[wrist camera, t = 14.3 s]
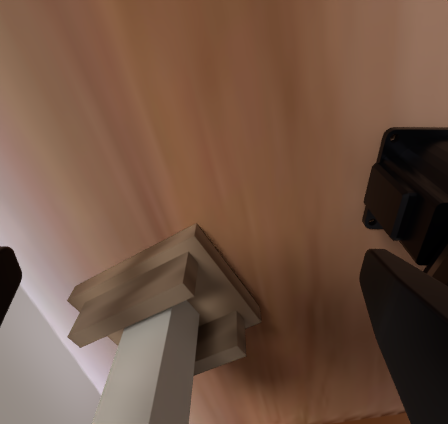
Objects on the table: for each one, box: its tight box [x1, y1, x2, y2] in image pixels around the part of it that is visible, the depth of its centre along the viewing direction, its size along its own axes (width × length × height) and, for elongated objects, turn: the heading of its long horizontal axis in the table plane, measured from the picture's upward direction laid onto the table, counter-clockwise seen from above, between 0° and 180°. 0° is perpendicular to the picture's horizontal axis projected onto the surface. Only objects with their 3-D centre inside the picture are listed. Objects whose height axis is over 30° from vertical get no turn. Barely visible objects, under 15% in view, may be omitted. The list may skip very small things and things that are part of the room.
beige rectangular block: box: [92, 300, 200, 424], centre depth 19 cm, size 4×3×12 cm
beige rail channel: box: [67, 224, 261, 376], centre depth 23 cm, size 11×9×4 cm
